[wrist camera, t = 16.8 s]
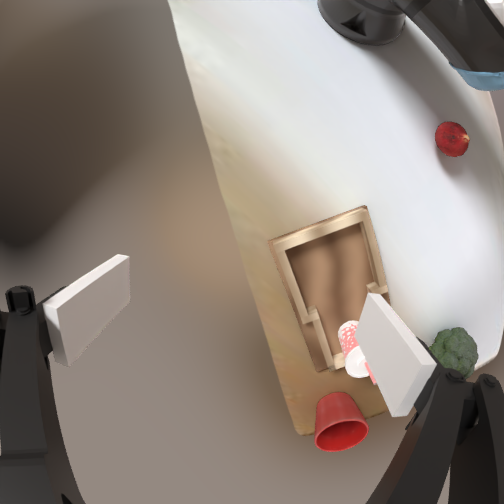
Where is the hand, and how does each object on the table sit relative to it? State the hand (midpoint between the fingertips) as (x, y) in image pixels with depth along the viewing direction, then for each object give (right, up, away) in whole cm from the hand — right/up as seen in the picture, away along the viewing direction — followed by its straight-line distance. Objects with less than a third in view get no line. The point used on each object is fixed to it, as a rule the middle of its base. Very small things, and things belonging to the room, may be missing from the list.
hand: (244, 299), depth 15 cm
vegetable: (+40, -18, +33) cm, 55 cm away
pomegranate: (+32, +21, +23) cm, 45 cm away
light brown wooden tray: (+15, -5, +31) cm, 34 cm away
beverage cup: (+17, -11, +31) cm, 37 cm away
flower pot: (+18, -30, +38) cm, 51 cm away
